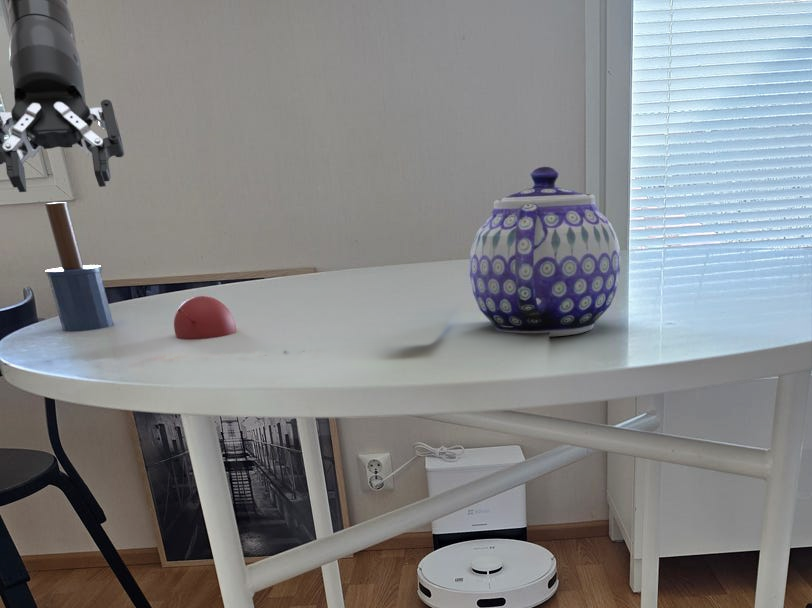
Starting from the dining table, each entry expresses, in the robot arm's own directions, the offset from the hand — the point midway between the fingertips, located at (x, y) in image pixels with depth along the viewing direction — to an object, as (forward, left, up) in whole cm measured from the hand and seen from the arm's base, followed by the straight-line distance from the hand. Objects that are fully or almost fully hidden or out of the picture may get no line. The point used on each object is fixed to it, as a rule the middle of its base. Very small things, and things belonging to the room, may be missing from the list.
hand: (60, 183), depth 96 cm
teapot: (+54, -10, -17) cm, 58 cm away
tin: (+2, -6, -16) cm, 17 cm away
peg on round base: (+2, -6, -9) cm, 11 cm away
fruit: (+19, -16, -17) cm, 30 cm away
